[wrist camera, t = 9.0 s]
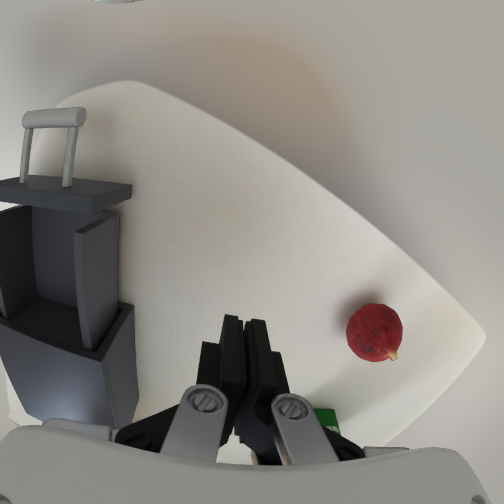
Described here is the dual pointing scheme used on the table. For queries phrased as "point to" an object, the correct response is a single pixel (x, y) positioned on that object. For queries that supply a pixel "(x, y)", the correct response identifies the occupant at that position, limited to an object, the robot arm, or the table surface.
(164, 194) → the table surface
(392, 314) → the onion
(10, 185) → the drawer
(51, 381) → the cabinet
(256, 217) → the table surface
